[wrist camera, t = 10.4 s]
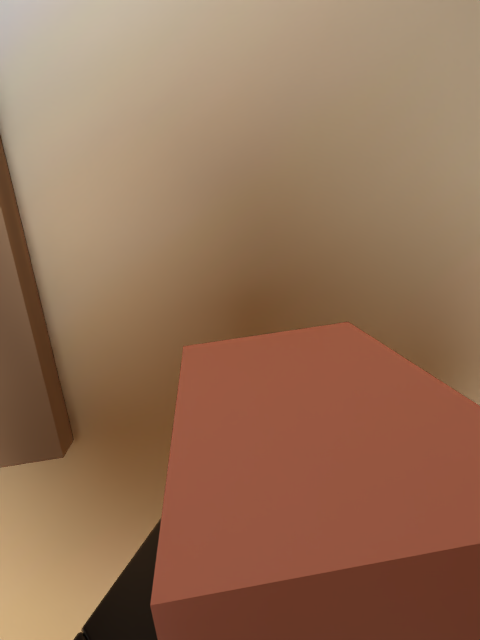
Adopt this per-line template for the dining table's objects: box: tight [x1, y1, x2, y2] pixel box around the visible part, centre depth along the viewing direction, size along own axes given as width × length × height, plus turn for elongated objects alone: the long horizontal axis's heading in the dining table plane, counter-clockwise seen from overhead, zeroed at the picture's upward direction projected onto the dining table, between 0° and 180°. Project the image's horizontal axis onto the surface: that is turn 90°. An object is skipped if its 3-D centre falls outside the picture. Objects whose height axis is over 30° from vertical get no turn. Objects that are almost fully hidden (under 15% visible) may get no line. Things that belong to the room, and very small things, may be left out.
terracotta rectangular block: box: [150, 322, 480, 640], centre depth 6 cm, size 4×6×6 cm, turn 7°
